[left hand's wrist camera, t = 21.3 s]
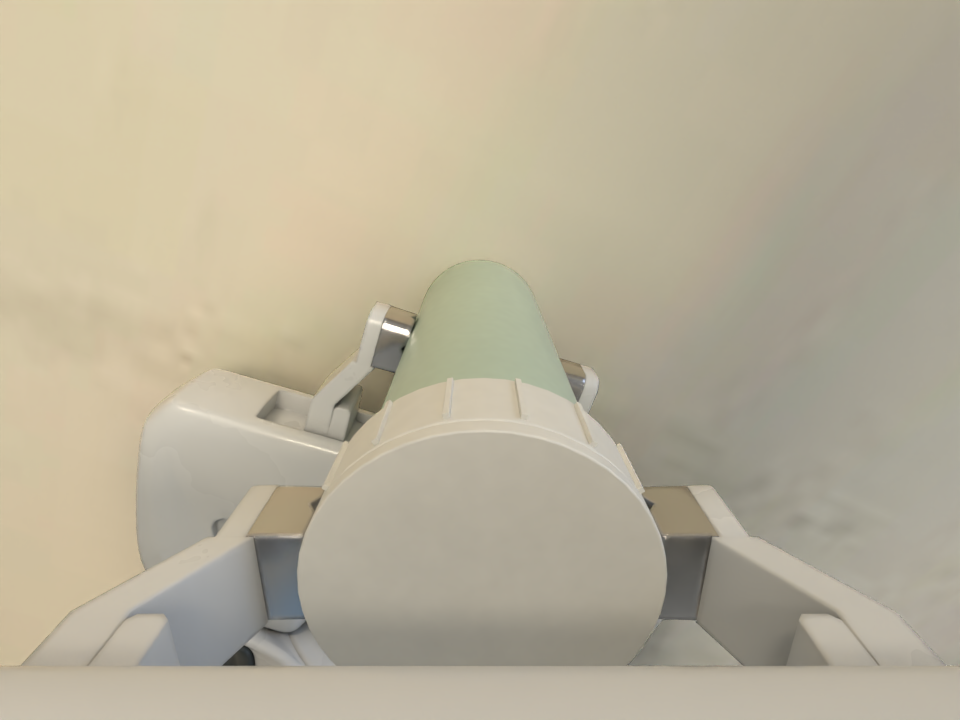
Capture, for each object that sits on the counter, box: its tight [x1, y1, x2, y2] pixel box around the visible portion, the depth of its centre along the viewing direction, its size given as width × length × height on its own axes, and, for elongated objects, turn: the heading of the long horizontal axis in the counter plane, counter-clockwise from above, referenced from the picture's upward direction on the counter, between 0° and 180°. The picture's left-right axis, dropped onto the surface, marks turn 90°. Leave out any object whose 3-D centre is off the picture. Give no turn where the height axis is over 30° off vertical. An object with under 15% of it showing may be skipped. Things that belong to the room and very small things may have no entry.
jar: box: [382, 260, 577, 408], centre depth 16 cm, size 5×5×15 cm
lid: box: [297, 377, 667, 666], centre depth 10 cm, size 6×6×2 cm
